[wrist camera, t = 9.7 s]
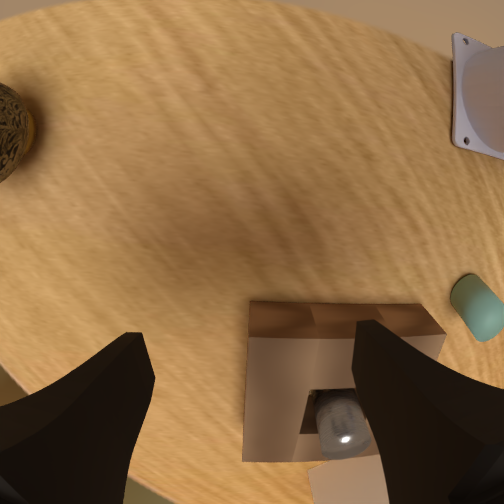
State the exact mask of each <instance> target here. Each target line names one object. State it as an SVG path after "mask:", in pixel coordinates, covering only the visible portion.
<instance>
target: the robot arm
mask: <svg viewBox="0 0 504 504" xmlns="http://www.w3.org/2000/svg"><path fill="white" fill-rule="evenodd" d="M463 40H464V41H465V43H466V44H465V43H464V42H463ZM452 51H453V76H454V105H453V131H452V141H453V144H454V145H455V146H457V147H460V148H464V149H468V150H472V151H475V152H479V153H482V154H486V155H489V156H492V157H496V158H499V159H502V160H504V46H501V47H497V48H491V47H489V46H487V45H485V44H483V43H481V42H479V41H477V40H475V39H472V38H470V37H468V36H466V35H463V34H461V33H458V32H456V33H454V34H452ZM464 138H466V144H465V143H464ZM351 370H352V374H353V378H354V383H355V387H356V391H357V394H358V397H359V399H360V402H361V404H362V407H363V410H364V412H365V415H366V417H367V420H368V423H369V425H370V428H371V430H372V433H373V436H374V438H375V441H376V444H377V447H378V450H379V454H380V458H381V462H382V467H383V471H384V476H385V481H386V487H387V492H388V498H389V504H504V389H500V388H497V387H494V386H490V385H488V384H485V383H482V382H479V381H477V380H474V379H471V378H469V377H467V376H464V375H462V374H460V373H458V372H456V371H454V370H452V369H450V368H448V367H446V366H444V365H442V364H440V363H439V362H437V361H435V360H434V359H432V358H430V357H428V356H427V355H425V354H424V353H422V352H421V351H419V350H417V349H416V348H414V347H413V346H411V345H410V344H409V343H407V342H406V341H404V340H403V339H401V338H400V337H399V336H397V335H396V334H394V333H393V332H392V331H390V330H389V329H388V328H386V327H385V326H383V325H382V324H380V323H379V322H377V321H376V320H374V319H371V320H363V321H357V323H356V333H355V342H354V350H353V358H352V366H351ZM154 382H155V375H154V371H153V368H152V365H151V362H150V358H149V355H148V352H147V348H146V345H145V341H144V338H143V334H142V332H126V333H124V334H123V335H121V336H120V337H118V338H117V339H115V340H114V341H113V342H111V343H110V344H109V345H107V346H106V347H105V348H103V349H102V350H101V351H99V352H98V353H97V354H95V355H94V356H93V357H91V358H90V359H88V360H87V361H86V362H84V363H83V364H81V365H80V366H79V367H77V368H76V369H74V370H73V371H71V372H70V373H68V374H67V375H65V376H64V377H62V378H61V379H59V380H57V381H56V382H54V383H52V384H51V385H49V386H47V387H45V388H43V389H41V390H39V391H37V392H35V393H33V394H31V395H29V396H26V397H24V398H22V399H19V400H17V401H15V402H12V403H10V404H7V405H4V406H0V504H123V499H124V492H125V485H126V480H127V474H128V469H129V464H130V460H131V456H132V453H133V449H134V447H135V444H136V441H137V438H138V435H139V433H140V430H141V427H142V424H143V421H144V419H145V416H146V413H147V410H148V407H149V404H150V402H151V397H152V393H153V388H154Z"/></svg>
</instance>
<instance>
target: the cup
mask: <svg viewBox="0 0 504 504" xmlns="http://www.w3.org/2000/svg"><path fill="white" fill-rule="evenodd" d="M36 132H37V126H36V121H35V118H34V116H33V114H32V113H31V112H30V111H29V110H28V109H27V108H26V107H25V105H24V103H23V101H22V99H21V97H20V96H19V95H18V94H17V93H16V92H15V91H14V90H13V89H11V88H10V87H8V86H6V85H4V84H2V83H0V183H1V182H2V181H3V180H5V179H6V178H7V177H8V176H9V175H10V174H11V173H12V172H13V171H14V170H15V168H16V167H17V165H18V164H19V162H20V160H21V159H22V157H23V156H24V155H25V154H26V153H28V151H29V150H30V149H31V147H32V146H33V144H34V141H35V138H36Z"/></svg>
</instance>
